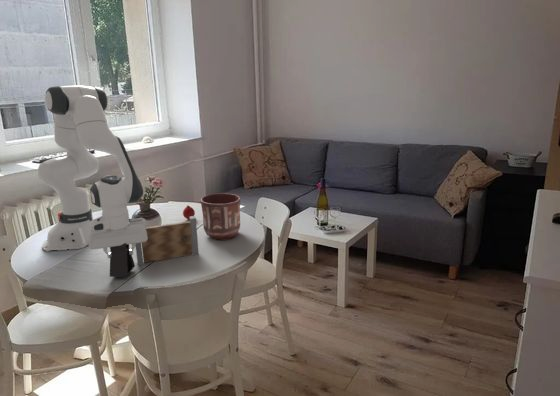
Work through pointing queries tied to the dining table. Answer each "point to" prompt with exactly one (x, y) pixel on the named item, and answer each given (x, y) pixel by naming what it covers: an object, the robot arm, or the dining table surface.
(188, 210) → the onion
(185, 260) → the dining table surface
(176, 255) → the door
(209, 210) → the pottery
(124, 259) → the phone stand
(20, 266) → the dining table surface
